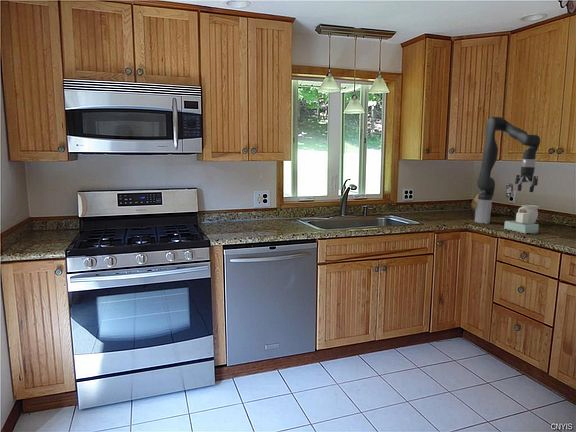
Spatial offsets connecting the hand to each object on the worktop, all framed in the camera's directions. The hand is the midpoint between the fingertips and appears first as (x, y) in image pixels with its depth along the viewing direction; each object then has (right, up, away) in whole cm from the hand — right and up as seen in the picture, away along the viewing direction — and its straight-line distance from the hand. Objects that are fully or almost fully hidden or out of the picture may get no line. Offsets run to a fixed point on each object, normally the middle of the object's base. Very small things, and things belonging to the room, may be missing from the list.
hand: (525, 191), depth 263 cm
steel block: (-1, -25, +4) cm, 25 cm away
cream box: (0, -20, +3) cm, 20 cm away
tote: (-1, -26, +4) cm, 26 cm away
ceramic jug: (+6, -15, +72) cm, 73 cm away
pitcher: (+22, -21, +35) cm, 47 cm away
